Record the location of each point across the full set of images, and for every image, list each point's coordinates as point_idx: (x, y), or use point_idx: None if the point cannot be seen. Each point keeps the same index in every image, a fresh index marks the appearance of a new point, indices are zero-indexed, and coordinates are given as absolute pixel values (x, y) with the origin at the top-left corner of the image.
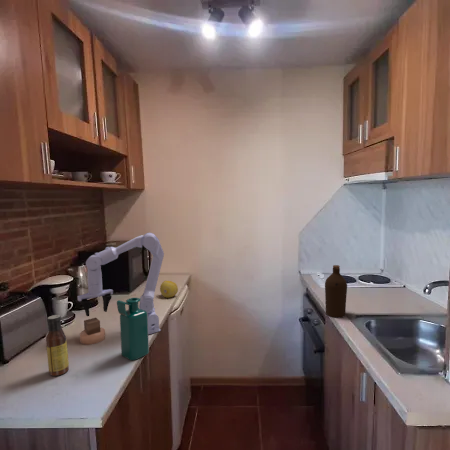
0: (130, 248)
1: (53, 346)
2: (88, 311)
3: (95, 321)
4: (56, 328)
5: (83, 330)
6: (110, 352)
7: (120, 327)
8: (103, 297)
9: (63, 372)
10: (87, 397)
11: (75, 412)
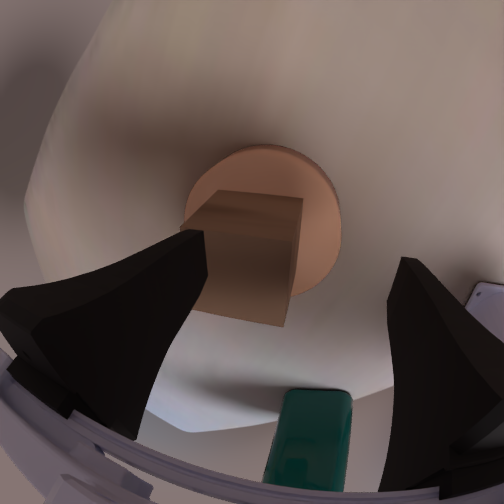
0: None
1: None
2: (178, 319)
3: (251, 315)
4: None
5: (218, 163)
6: (271, 361)
7: (264, 474)
8: (445, 422)
9: None
10: (175, 412)
11: (159, 415)
